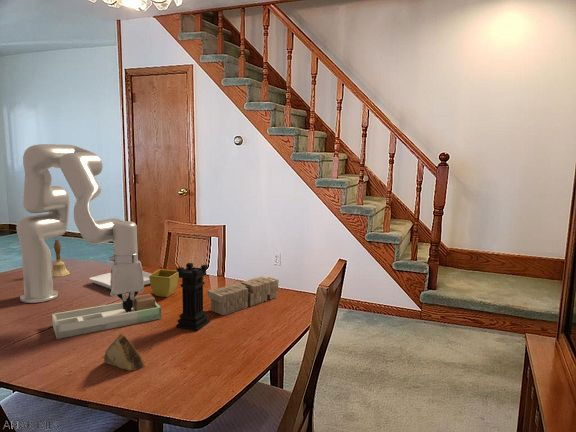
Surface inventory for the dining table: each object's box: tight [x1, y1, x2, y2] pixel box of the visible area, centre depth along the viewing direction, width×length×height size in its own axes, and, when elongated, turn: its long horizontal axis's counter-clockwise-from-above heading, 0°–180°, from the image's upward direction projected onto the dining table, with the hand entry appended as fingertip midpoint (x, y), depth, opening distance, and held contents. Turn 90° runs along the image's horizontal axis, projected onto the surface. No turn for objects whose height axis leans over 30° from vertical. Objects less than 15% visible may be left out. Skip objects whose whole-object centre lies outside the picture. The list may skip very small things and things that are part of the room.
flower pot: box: [149, 269, 179, 298], centre depth 174 cm, size 9×9×9 cm
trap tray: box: [51, 301, 162, 340], centre depth 147 cm, size 12×32×4 cm, turn 123°
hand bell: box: [52, 239, 71, 278], centre depth 196 cm, size 8×8×16 cm
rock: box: [103, 333, 146, 371], centre depth 120 cm, size 11×9×10 cm
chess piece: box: [175, 262, 211, 332], centre depth 145 cm, size 8×8×20 cm
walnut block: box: [133, 293, 156, 311], centre depth 153 cm, size 6×6×4 cm
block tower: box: [206, 275, 279, 316], centre depth 167 cm, size 8×8×29 cm
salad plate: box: [88, 270, 152, 290], centre depth 187 cm, size 21×21×3 cm
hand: (128, 310), depth 150 cm, fingers closed
